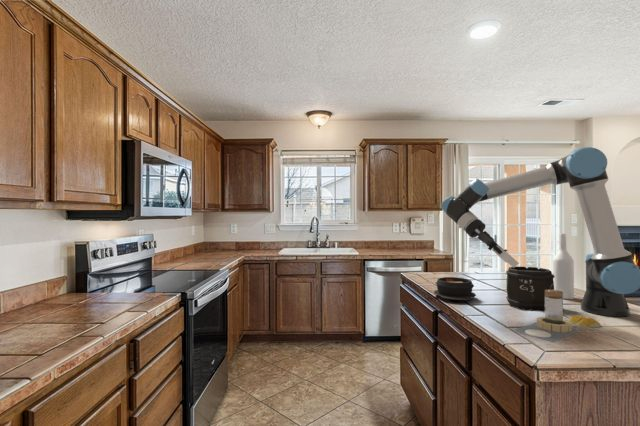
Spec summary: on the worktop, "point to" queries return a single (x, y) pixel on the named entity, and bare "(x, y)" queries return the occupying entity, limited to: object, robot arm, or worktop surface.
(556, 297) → the jar with brown lid
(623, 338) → the worktop surface
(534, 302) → the labelled black crock
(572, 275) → the bottle
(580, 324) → the bread roll
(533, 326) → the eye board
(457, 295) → the casserole
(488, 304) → the worktop surface
